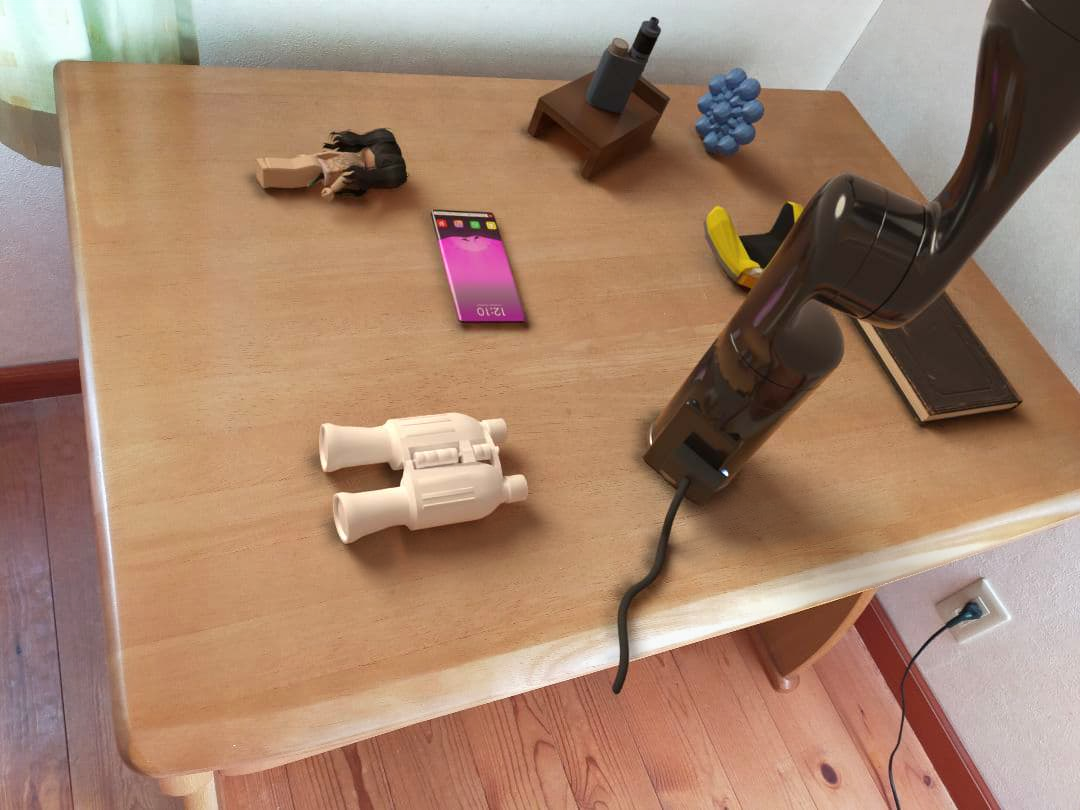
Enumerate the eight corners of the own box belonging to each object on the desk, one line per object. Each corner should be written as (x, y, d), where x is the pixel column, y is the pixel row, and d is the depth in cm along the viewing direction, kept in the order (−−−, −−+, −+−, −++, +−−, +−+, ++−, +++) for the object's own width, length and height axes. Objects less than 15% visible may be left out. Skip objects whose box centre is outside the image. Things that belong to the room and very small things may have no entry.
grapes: (751, 180, 117) (800, 106, 108) (710, 179, 114) (756, 103, 105) (715, 121, 123) (758, 46, 114) (675, 120, 120) (716, 42, 111)
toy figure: (280, 223, 87) (415, 195, 95) (279, 170, 83) (421, 145, 90) (252, 180, 91) (385, 157, 98) (250, 127, 86) (389, 107, 93)
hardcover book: (918, 425, 100) (931, 414, 98) (822, 273, 110) (832, 260, 109) (1012, 410, 106) (1026, 400, 105) (913, 268, 117) (924, 256, 116)
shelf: (587, 180, 106) (608, 134, 101) (526, 131, 108) (544, 83, 103) (648, 142, 115) (670, 98, 109) (591, 97, 117) (610, 51, 111)
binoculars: (313, 442, 74) (319, 411, 70) (488, 422, 81) (502, 393, 77) (339, 554, 69) (347, 527, 66) (523, 522, 76) (540, 496, 72)
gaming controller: (685, 235, 106) (724, 298, 102) (706, 201, 102) (747, 265, 97) (778, 228, 113) (818, 286, 109) (801, 196, 109) (844, 255, 104)
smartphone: (492, 218, 97) (494, 212, 96) (526, 324, 89) (529, 318, 89) (428, 215, 94) (430, 209, 93) (458, 325, 86) (460, 319, 86)
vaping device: (625, 116, 108) (666, 29, 98) (585, 105, 106) (622, 15, 97) (624, 103, 109) (664, 16, 100) (584, 92, 108) (621, 2, 99)
